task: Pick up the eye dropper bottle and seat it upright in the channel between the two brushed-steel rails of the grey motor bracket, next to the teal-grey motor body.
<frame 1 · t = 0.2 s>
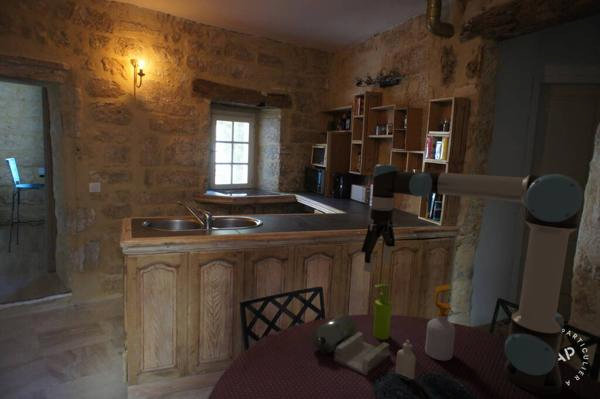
hand: (377, 267, 132), 27 cm above the table, fingers open, 13 cm apart
soap dispenser: (379, 336, 139), on the table
motor bracket: (362, 357, 124), on the table
soap bottle: (438, 354, 128), on the table
eye dropper bottle: (404, 377, 114), on the table
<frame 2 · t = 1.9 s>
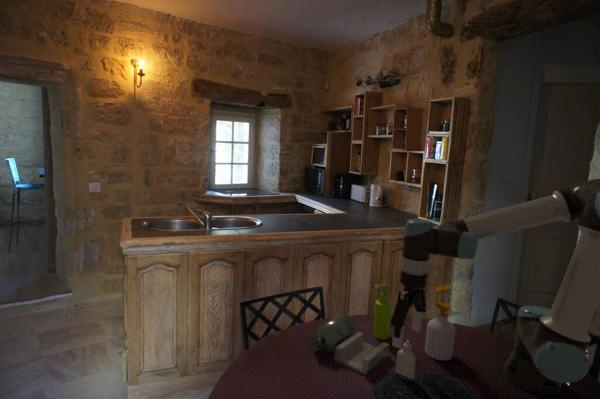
hand: (406, 338, 113), 13 cm above the table, fingers open, 13 cm apart
nothing on the table moved.
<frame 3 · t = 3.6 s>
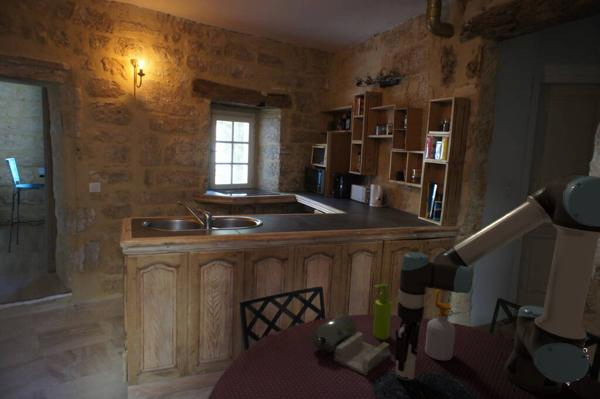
hand: (404, 376, 114), 0 cm above the table, fingers closed on eye dropper bottle, 4 cm apart
eye dropper bottle: (404, 377, 114), on the table, touching gripper
everything else where it was.
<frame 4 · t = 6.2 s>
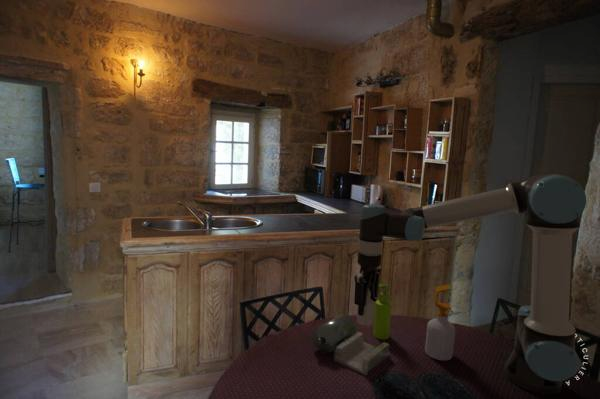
hand: (364, 321, 122), 13 cm above the table, fingers closed on eye dropper bottle, 4 cm apart
eye dropper bottle: (364, 322, 122), point 12 cm above the table, touching gripper
everything else where it was.
when the fingers open (3 cm above the table, at t = 8.5 s): eye dropper bottle drops 1 cm, resting on motor bracket.
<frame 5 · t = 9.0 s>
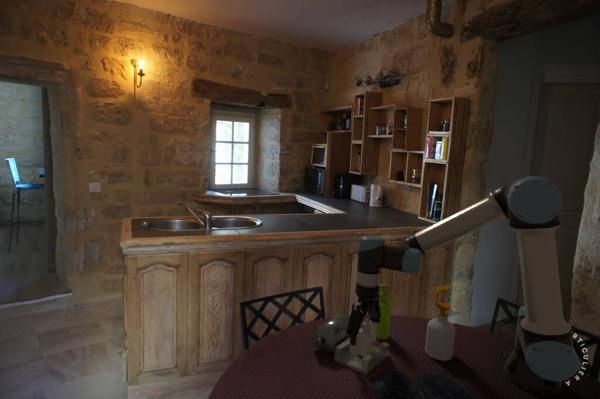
hand: (362, 346, 123), 4 cm above the table, fingers open, 11 cm apart
eye dropper bottle: (362, 355, 124), point 1 cm above the table, touching motor bracket
everything else where it was.
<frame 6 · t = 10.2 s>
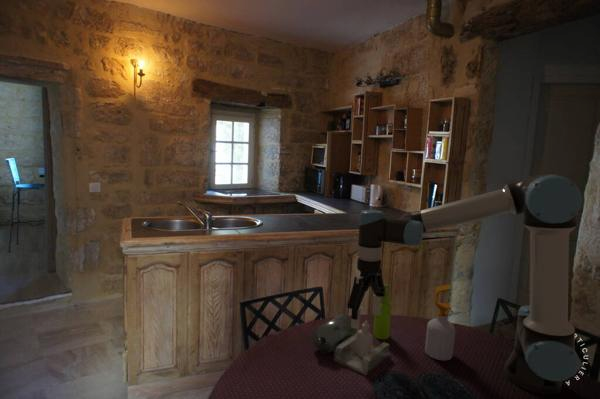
hand: (366, 321, 122), 13 cm above the table, fingers open, 13 cm apart
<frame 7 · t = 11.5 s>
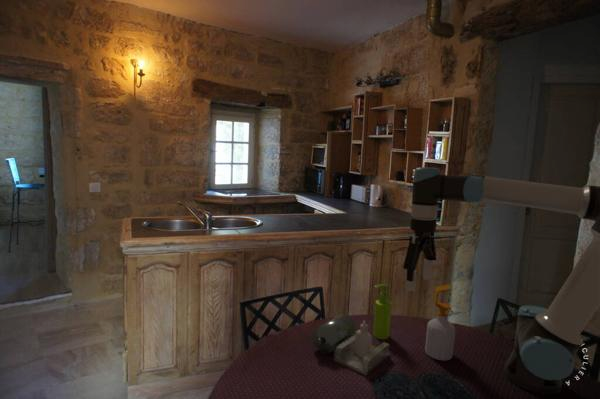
hand: (419, 284, 116), 28 cm above the table, fingers open, 13 cm apart
nothing on the table moved.
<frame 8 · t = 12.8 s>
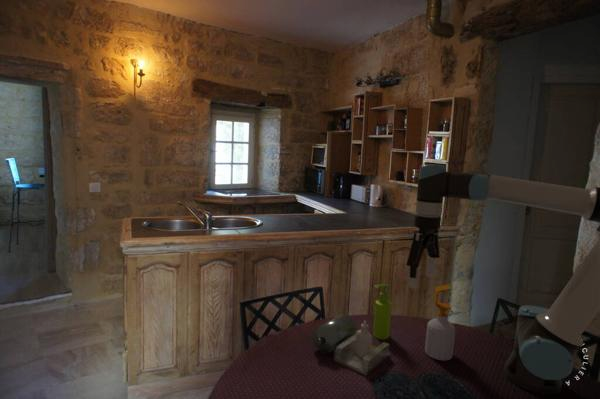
hand: (421, 282, 116), 29 cm above the table, fingers open, 13 cm apart
nothing on the table moved.
at the end: eye dropper bottle inside the target area on the motor bracket (0.1 cm from its centre), point 0.8 cm above the motor bracket's base; eye dropper bottle tilted 1°; the gripper is holding nothing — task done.
